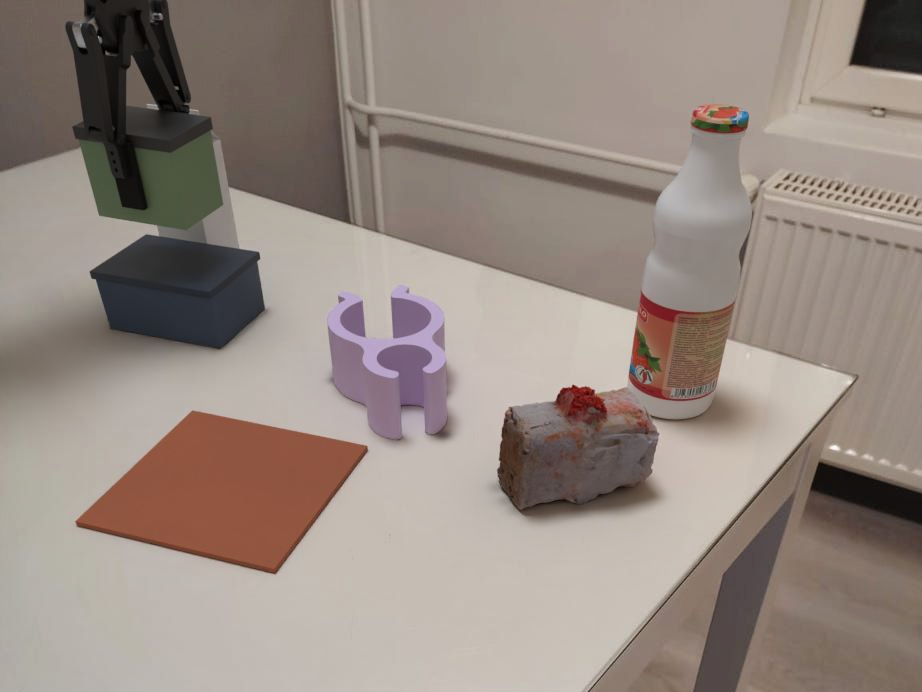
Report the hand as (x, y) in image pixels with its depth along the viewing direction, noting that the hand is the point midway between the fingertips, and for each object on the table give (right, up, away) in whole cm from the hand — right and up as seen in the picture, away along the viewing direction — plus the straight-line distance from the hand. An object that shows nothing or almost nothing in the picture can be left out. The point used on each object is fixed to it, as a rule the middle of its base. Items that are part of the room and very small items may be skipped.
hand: (158, 193), depth 99 cm
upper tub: (0, -1, +1) cm, 2 cm away
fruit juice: (+56, -23, -1) cm, 61 cm away
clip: (+26, -22, -1) cm, 34 cm away
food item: (+45, -35, -13) cm, 58 cm away
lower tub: (0, -10, +10) cm, 15 cm away
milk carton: (-1, 0, +21) cm, 21 cm away
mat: (+12, -35, -14) cm, 39 cm away
